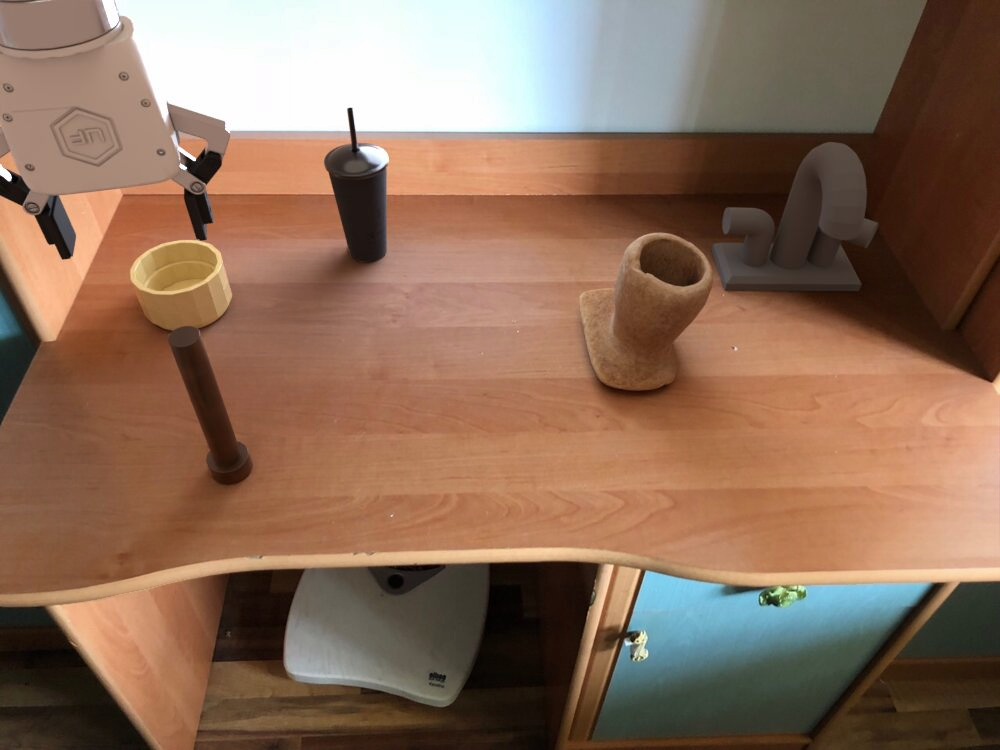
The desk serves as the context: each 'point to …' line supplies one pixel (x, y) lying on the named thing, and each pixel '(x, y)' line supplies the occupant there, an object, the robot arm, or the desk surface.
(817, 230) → the faucet
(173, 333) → the stirrer
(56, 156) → the robot arm
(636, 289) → the stone cup
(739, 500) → the desk surface
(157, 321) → the bowl
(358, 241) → the drinking cup
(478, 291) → the desk surface
